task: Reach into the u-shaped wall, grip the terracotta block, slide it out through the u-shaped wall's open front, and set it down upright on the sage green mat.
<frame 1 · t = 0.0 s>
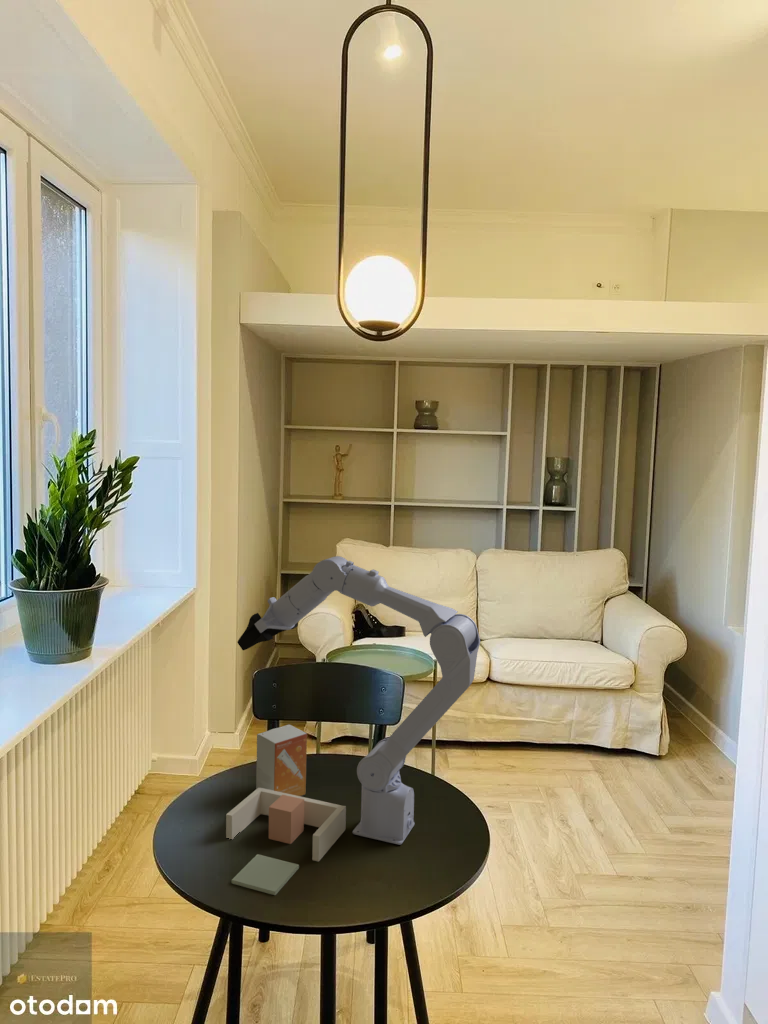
hand: (251, 640, 142), 32 cm above the table, tool tilted 50°, fingers open, 7 cm apart
block: (286, 834, 132), on the table
u-shaped wall: (285, 835, 132), on the table
mat: (265, 875, 120), on the table
small box: (281, 796, 147), on the table
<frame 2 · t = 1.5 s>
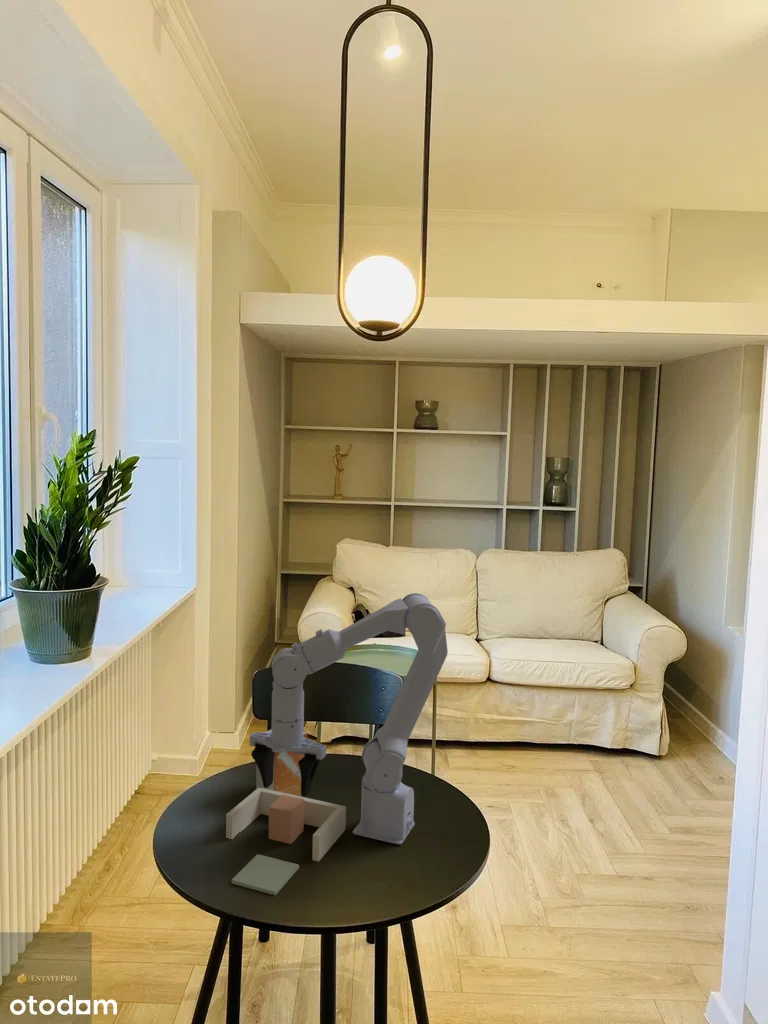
hand: (286, 789, 132), 8 cm above the table, tool pointing down, fingers open, 7 cm apart
nothing on the table moved.
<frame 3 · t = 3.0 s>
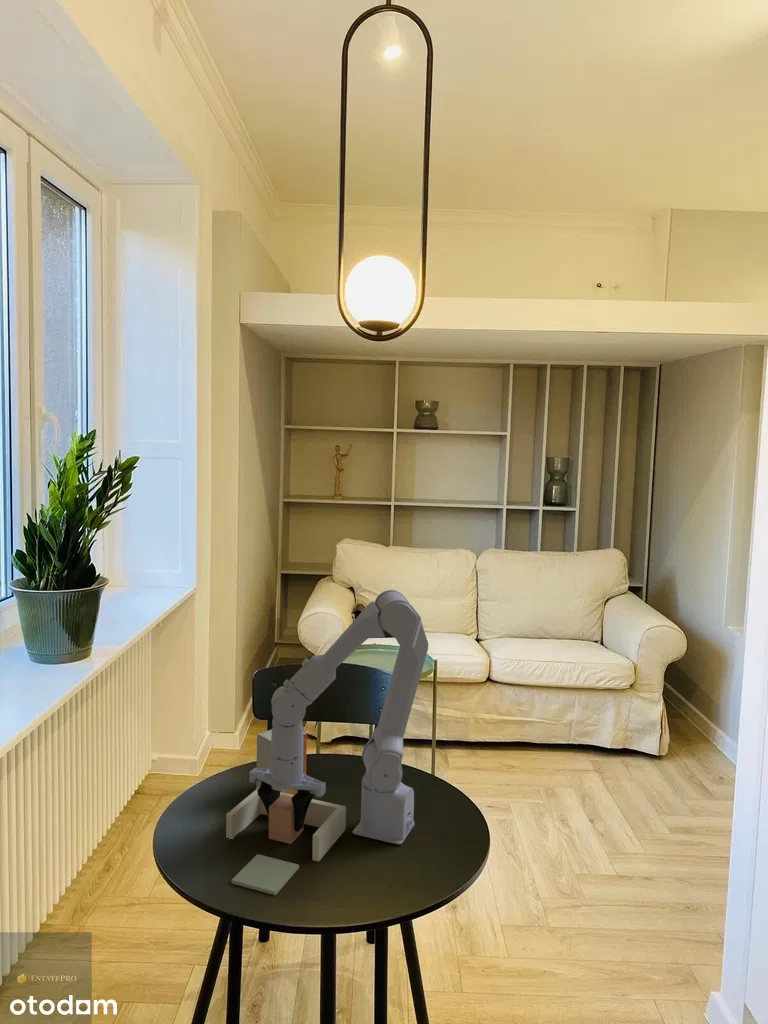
hand: (286, 825, 132), 2 cm above the table, tool pointing down, fingers closed on block, 4 cm apart
block: (286, 834, 132), on the table, touching gripper
everything else where it was.
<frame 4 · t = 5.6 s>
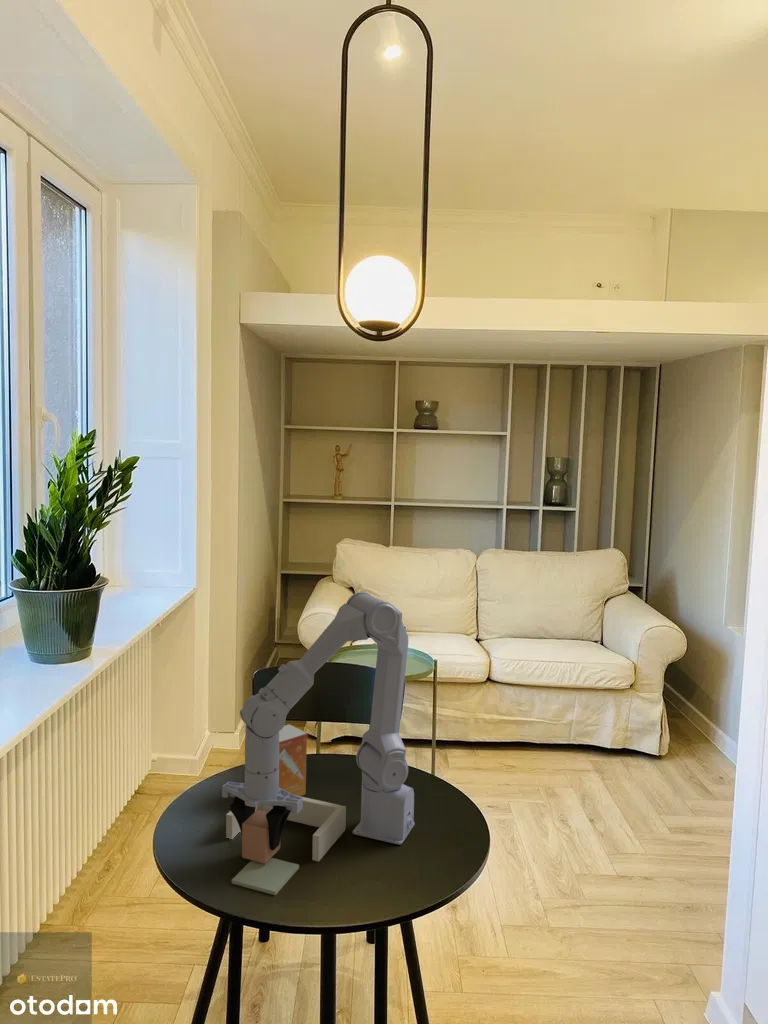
hand: (261, 843, 124), 3 cm above the table, tool pointing down, fingers closed on block, 4 cm apart
block: (261, 852, 124), point 1 cm above the table, touching gripper
everything else where it was.
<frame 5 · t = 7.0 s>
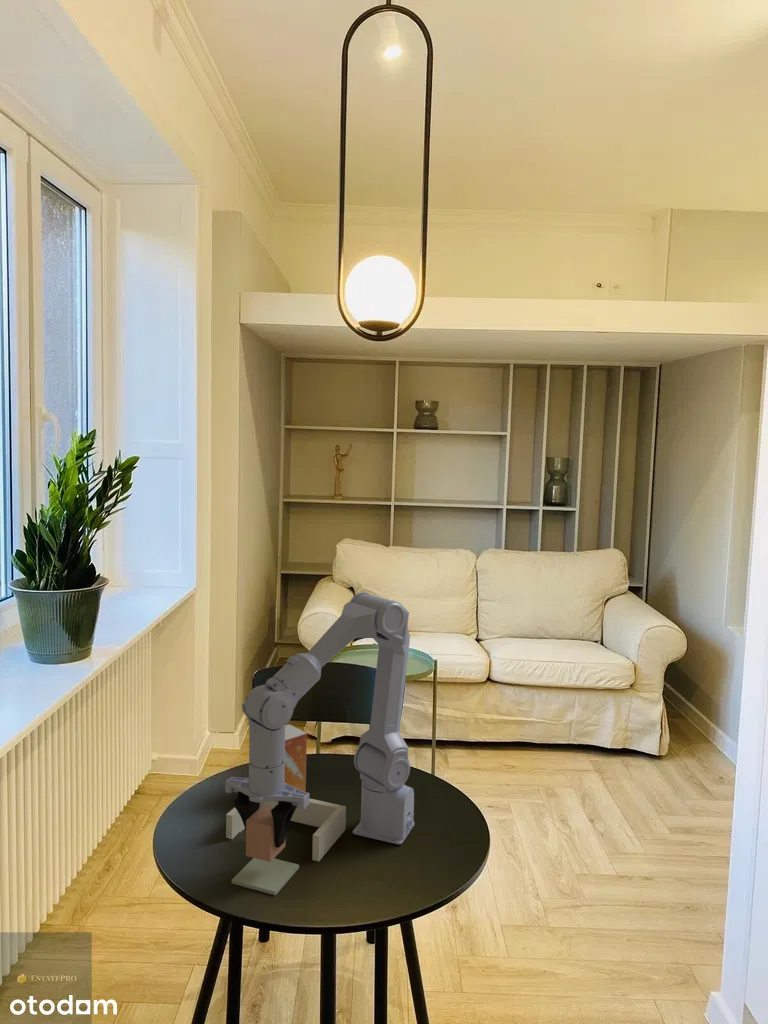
hand: (266, 840, 119), 6 cm above the table, tool pointing down, fingers closed on block, 4 cm apart
block: (265, 851, 119), point 4 cm above the table, touching gripper
everything else where it was.
when the fingers open (3 cm above the table, at t = 8.3 s): block stays where it is, resting on mat.
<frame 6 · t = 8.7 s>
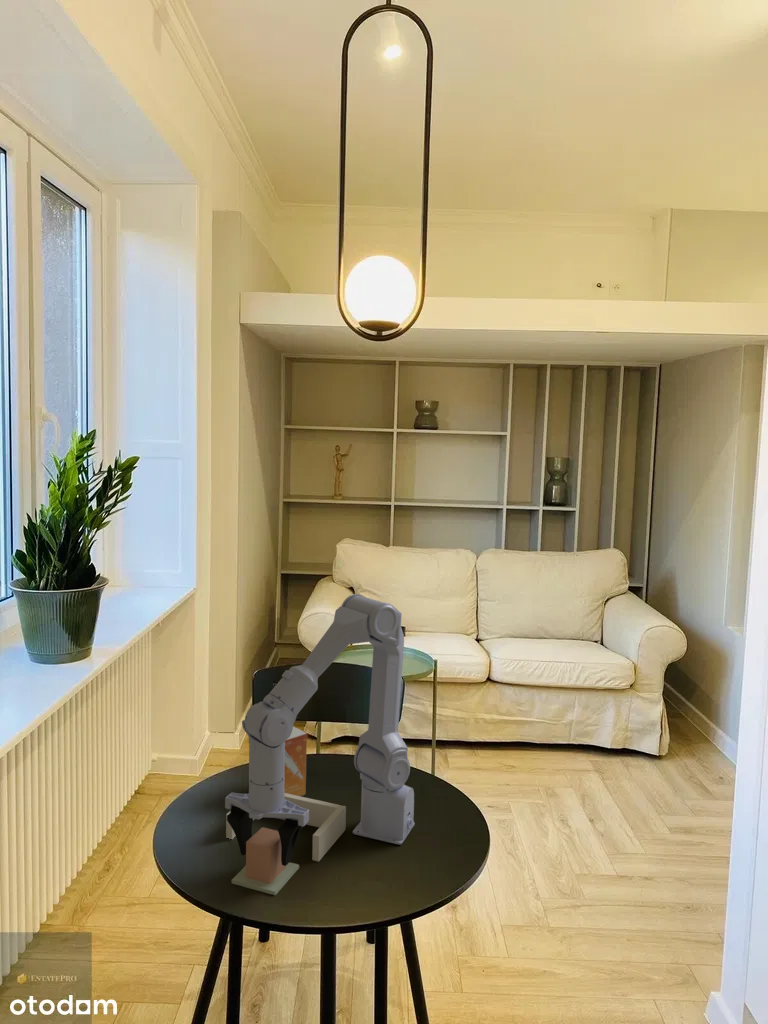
hand: (266, 857, 119), 3 cm above the table, tool pointing down, fingers open, 7 cm apart
block: (265, 872, 120), point 1 cm above the table, touching mat
everything else where it was.
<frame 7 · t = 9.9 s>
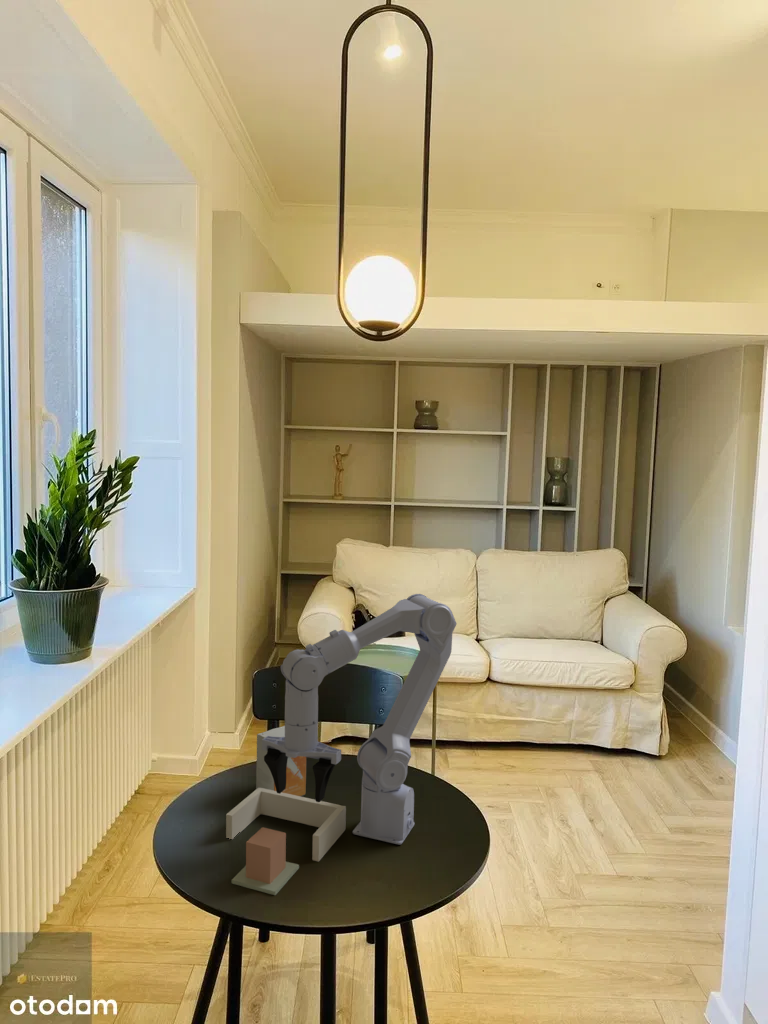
hand: (300, 795, 128), 9 cm above the table, tool pointing down, fingers open, 7 cm apart
nothing on the table moved.
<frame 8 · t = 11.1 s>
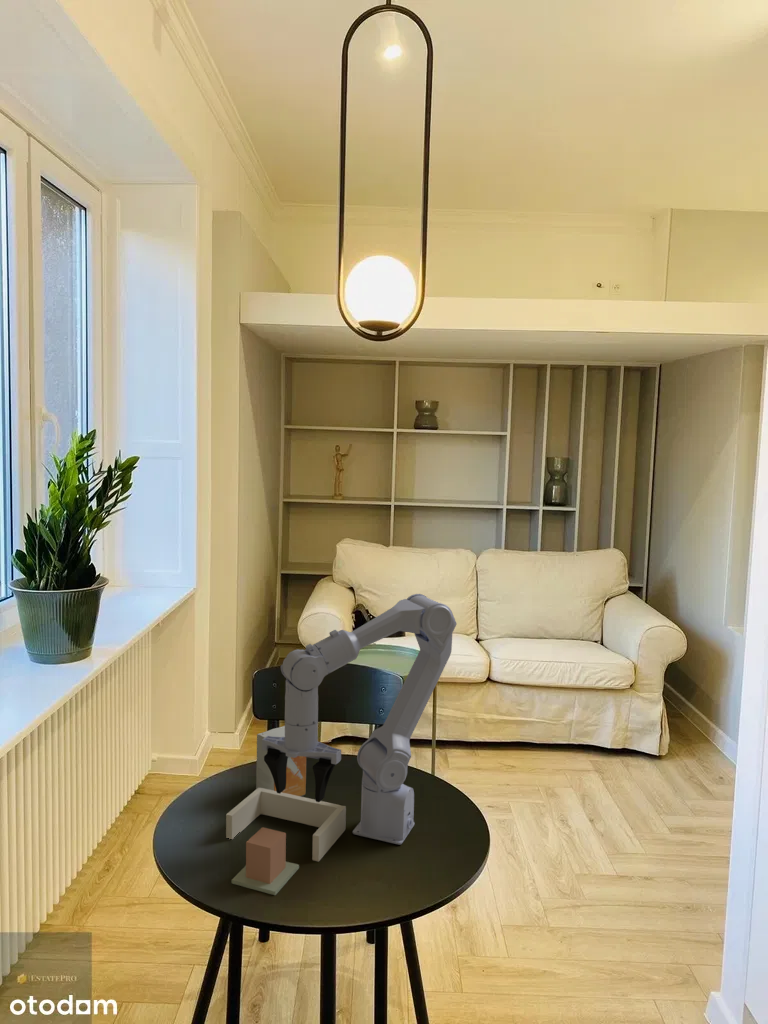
hand: (300, 795, 128), 9 cm above the table, tool pointing down, fingers open, 7 cm apart
nothing on the table moved.
at the end: block inside the target area on the mat (0.0 cm from its centre), point 0.6 cm above the mat's base; block tilted 0°; the gripper is holding nothing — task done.
